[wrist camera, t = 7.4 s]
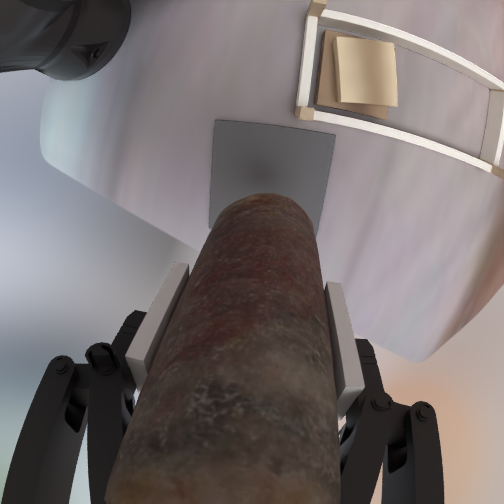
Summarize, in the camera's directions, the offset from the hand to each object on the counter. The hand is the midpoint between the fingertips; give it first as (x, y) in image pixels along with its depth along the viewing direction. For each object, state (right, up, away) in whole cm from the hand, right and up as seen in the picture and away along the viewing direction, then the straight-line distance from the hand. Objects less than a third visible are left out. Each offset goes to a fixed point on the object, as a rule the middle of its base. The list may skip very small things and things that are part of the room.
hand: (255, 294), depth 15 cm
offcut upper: (+11, +21, +9) cm, 26 cm away
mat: (+2, +11, +19) cm, 22 cm away
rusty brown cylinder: (+1, +4, +6) cm, 7 cm away
